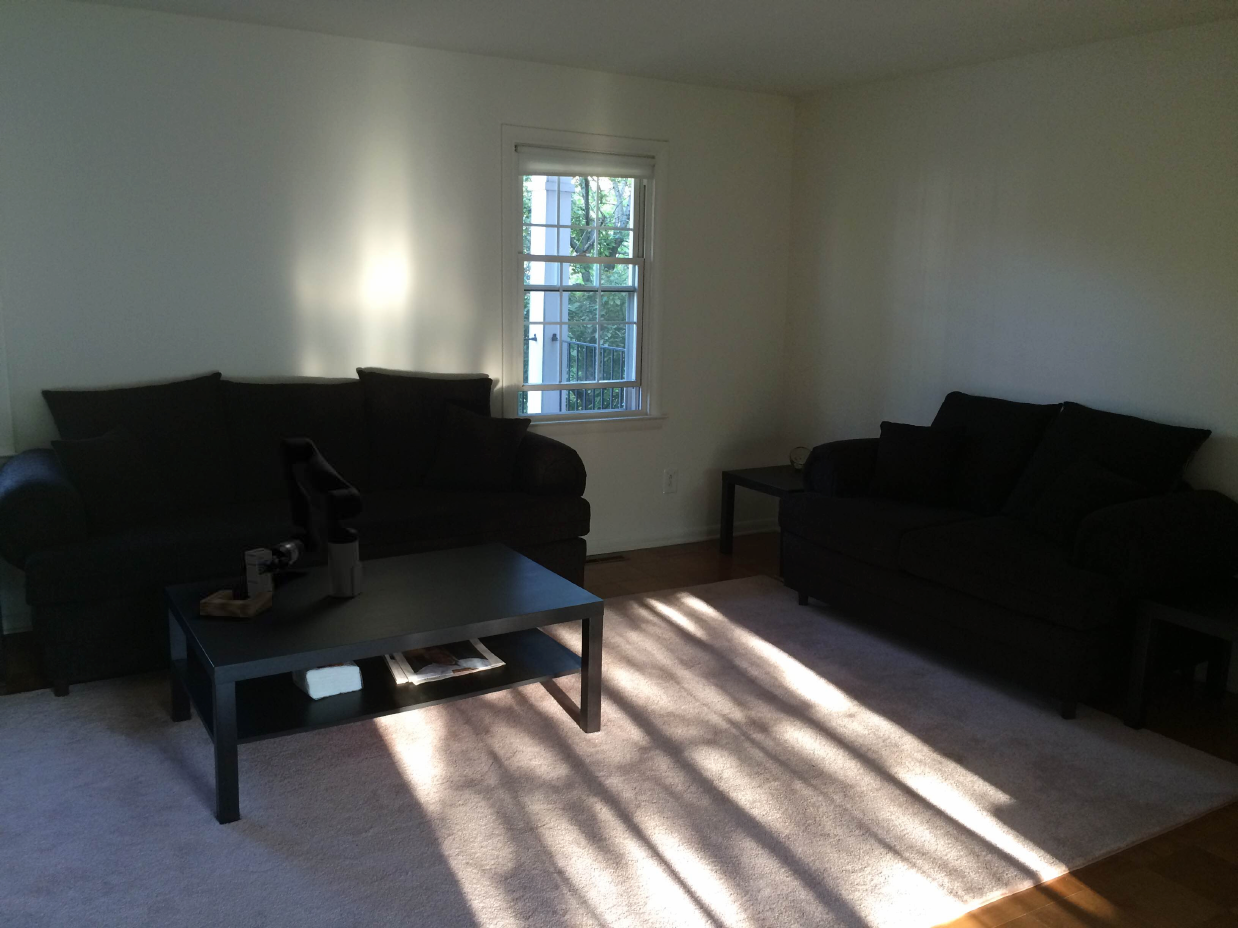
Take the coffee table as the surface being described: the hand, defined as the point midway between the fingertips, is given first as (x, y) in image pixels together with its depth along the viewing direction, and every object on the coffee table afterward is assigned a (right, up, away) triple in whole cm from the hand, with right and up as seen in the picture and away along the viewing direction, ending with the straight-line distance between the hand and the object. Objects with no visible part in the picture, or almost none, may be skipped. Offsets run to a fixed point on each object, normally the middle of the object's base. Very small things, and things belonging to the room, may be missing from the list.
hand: (256, 569), depth 304 cm
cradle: (-2, -11, -11) cm, 15 cm away
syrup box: (0, -9, +3) cm, 9 cm away
